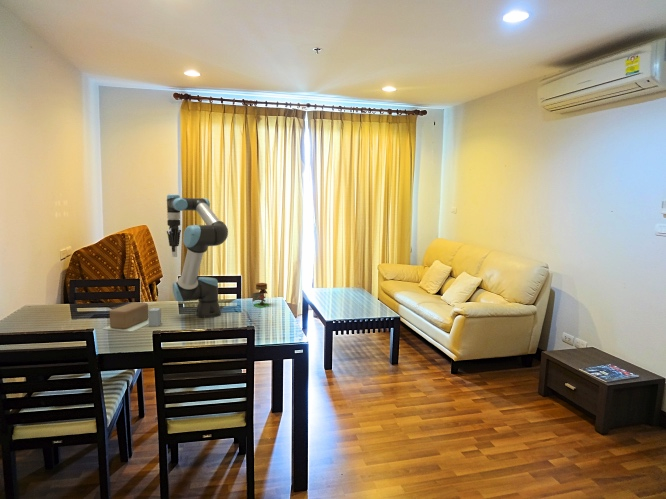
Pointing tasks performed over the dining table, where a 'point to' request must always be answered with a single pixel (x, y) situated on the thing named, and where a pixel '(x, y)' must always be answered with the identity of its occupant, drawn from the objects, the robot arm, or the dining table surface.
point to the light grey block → (154, 316)
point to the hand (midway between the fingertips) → (174, 256)
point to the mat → (130, 329)
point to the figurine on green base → (260, 295)
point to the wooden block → (128, 315)
